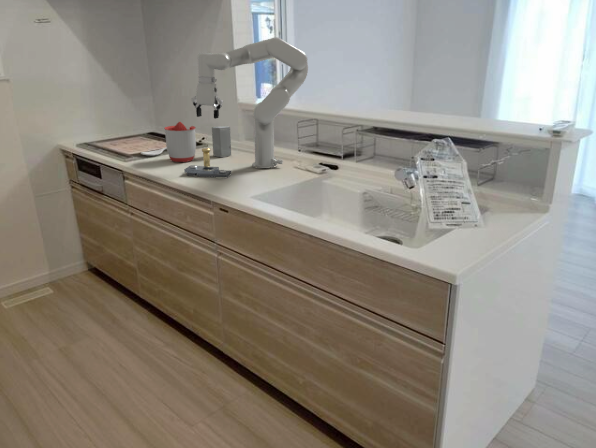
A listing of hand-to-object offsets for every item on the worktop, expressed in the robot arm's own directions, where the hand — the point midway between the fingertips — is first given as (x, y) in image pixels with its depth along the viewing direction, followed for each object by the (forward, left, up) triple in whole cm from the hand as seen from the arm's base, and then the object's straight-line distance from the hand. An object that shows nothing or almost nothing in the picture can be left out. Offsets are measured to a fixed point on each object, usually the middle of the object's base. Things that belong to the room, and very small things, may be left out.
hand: (207, 117), depth 236 cm
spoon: (+33, -25, -25) cm, 48 cm away
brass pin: (-1, +7, -24) cm, 25 cm away
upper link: (-2, +17, -24) cm, 29 cm away
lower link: (-8, +17, -24) cm, 30 cm away
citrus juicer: (+18, -10, -24) cm, 32 cm away
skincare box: (+1, -24, -24) cm, 34 cm away
